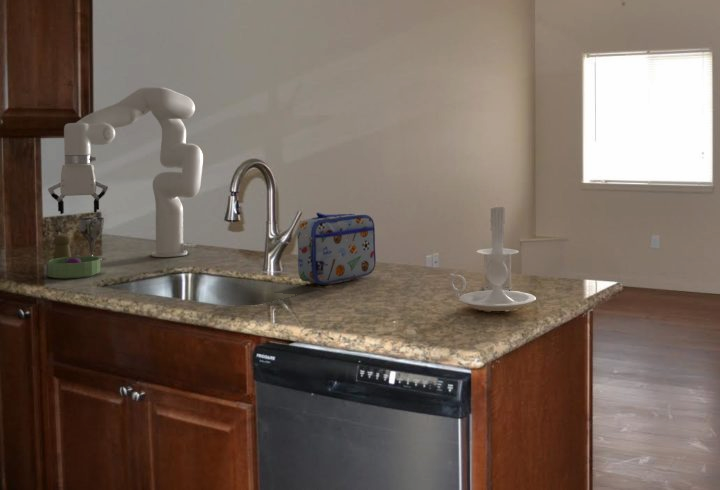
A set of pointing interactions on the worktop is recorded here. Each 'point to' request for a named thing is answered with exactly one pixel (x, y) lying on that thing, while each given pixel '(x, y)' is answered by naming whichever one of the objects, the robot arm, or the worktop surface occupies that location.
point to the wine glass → (91, 229)
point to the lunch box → (336, 248)
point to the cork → (62, 246)
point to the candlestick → (494, 275)
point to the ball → (74, 260)
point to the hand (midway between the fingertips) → (78, 212)
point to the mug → (486, 265)
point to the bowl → (73, 267)
